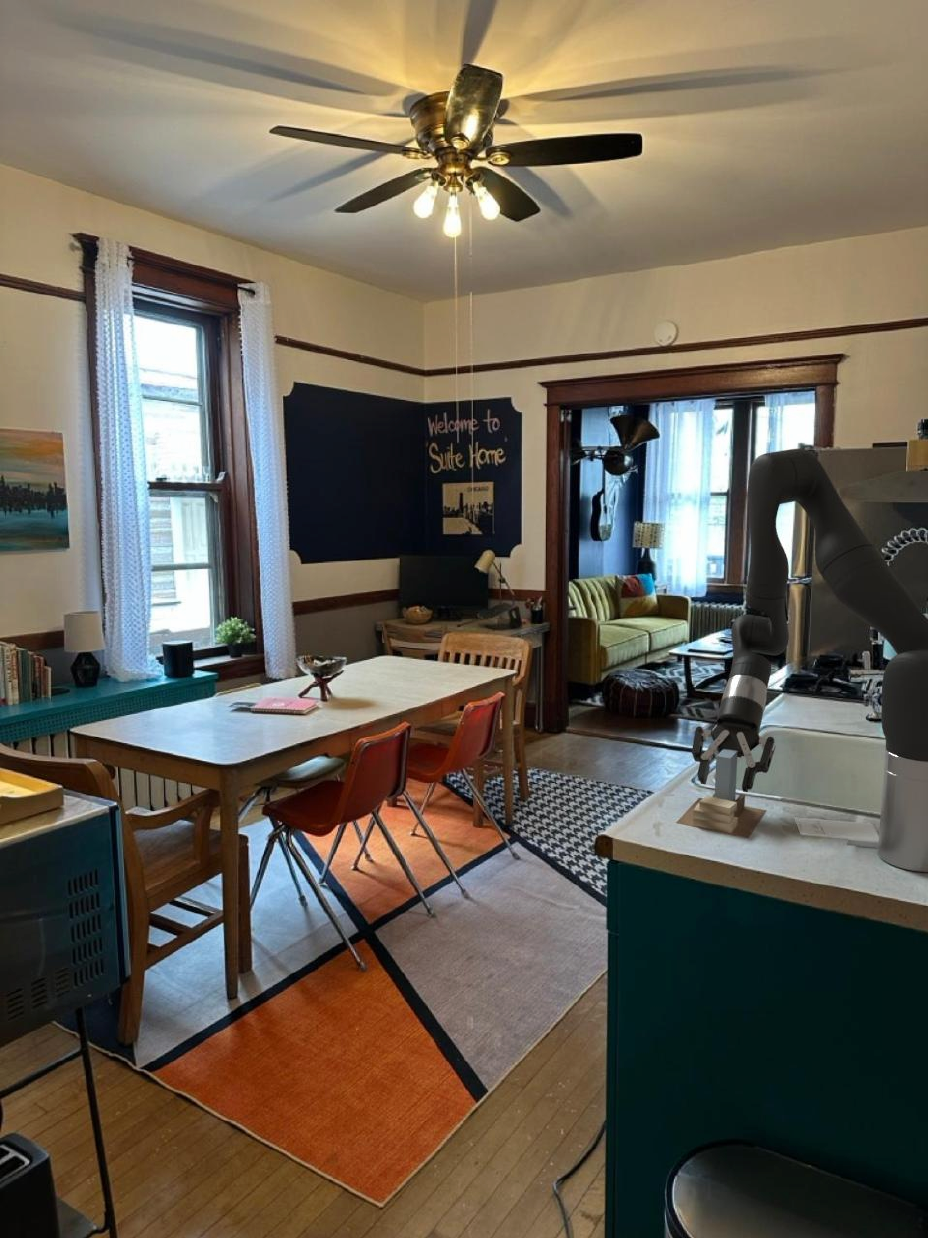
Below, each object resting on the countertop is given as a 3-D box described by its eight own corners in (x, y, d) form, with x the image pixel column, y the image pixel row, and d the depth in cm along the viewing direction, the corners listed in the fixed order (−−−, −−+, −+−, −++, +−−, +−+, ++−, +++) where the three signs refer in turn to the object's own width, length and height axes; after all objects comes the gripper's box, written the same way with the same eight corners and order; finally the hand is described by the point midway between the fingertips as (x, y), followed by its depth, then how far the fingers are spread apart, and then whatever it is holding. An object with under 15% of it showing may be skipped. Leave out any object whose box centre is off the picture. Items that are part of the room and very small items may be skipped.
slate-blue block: (734, 810, 143) (737, 750, 142) (727, 819, 139) (730, 758, 138) (721, 807, 145) (723, 748, 143) (713, 817, 140) (716, 756, 139)
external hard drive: (882, 851, 130) (800, 843, 133) (870, 831, 138) (792, 824, 141) (883, 841, 130) (800, 834, 133) (871, 822, 138) (793, 815, 140)
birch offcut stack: (737, 825, 137) (738, 801, 136) (731, 833, 133) (732, 809, 133) (698, 817, 140) (699, 794, 140) (691, 825, 137) (692, 801, 136)
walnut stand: (766, 815, 143) (767, 797, 143) (748, 843, 132) (749, 823, 131) (698, 802, 150) (699, 784, 149) (675, 828, 138) (676, 808, 137)
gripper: (699, 689, 149) (678, 768, 141) (781, 699, 142) (763, 783, 133) (706, 711, 154) (686, 788, 146) (785, 722, 147) (769, 804, 138)
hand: (723, 785), depth 140 cm, fingers open, 6 cm apart
